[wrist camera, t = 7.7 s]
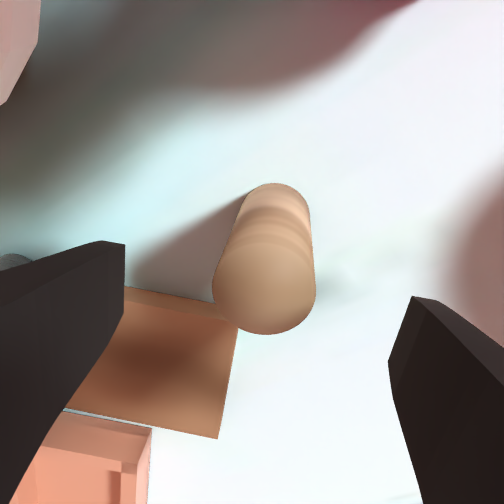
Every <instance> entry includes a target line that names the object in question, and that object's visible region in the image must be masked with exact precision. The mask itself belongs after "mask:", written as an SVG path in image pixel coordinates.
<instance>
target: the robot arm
mask: <svg viewBox="0 0 504 504" xmlns="http://www.w3.org/2000/svg"><path fill="white" fill-rule="evenodd" d="M124 278H125V245H124V244H119V243H113V242H108V241H102V240H101V241H96V242H91V243H88V244H84V245H81V246H78V247H75V248H72V249H69V250H66V251H63V252H60V253H56V254H53V255H50V256H47V257H44V258H41V259H38V260H35V261H32V262H29V263H26V264H22V265H19V266H16V267H12V268H9V269H5V270H2V271H0V504H9V503H10V501H11V499H12V497H13V495H14V493H15V491H16V490H17V488H18V486H19V484H20V482H21V480H22V478H23V476H24V474H25V473H26V471H27V469H28V467H29V465H30V464H31V462H32V460H33V458H34V456H35V455H36V453H37V451H38V449H39V447H40V446H41V444H42V442H43V440H44V438H45V437H46V435H47V433H48V432H49V430H50V429H51V427H52V425H53V424H54V422H55V421H56V419H57V418H58V416H59V415H60V413H61V412H62V410H63V409H64V408H65V406H66V405H67V403H68V402H69V400H70V399H71V398H72V396H73V395H74V393H75V392H76V390H77V389H78V388H79V386H80V385H81V383H82V382H83V380H84V379H85V378H86V376H87V375H88V373H89V372H90V371H91V369H92V368H93V366H94V365H95V363H96V362H97V360H98V359H99V357H100V356H101V355H102V353H103V352H104V350H105V349H106V347H107V346H108V344H109V342H110V340H111V338H112V336H113V334H114V332H115V330H116V328H117V326H118V324H119V322H120V320H121V318H122V316H123V314H124ZM388 368H389V376H390V383H391V389H392V396H393V400H394V404H395V407H396V411H397V414H398V418H399V421H400V425H401V428H402V432H403V435H404V438H405V442H406V445H407V448H408V452H409V455H410V458H411V462H412V465H413V468H414V472H415V475H416V478H417V482H418V485H419V489H420V493H421V497H422V501H423V504H504V348H503V347H502V346H500V345H499V344H498V343H496V342H495V341H494V340H492V339H491V338H489V337H488V336H487V335H486V334H484V333H483V332H482V331H480V330H479V329H478V328H476V327H475V326H474V325H472V324H471V323H470V322H468V321H467V320H465V319H464V318H463V317H461V316H460V315H459V314H457V313H456V312H454V311H453V310H452V309H450V308H449V307H447V306H446V305H444V304H442V303H440V302H439V301H437V300H432V299H426V298H421V297H415V296H412V297H411V299H410V302H409V305H408V308H407V310H406V313H405V316H404V319H403V321H402V324H401V327H400V329H399V332H398V335H397V338H396V340H395V343H394V346H393V349H392V351H391V354H390V357H389V360H388Z"/></svg>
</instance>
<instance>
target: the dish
mask: <svg viewBox="0 0 504 504" xmlns="http://www.w3.org/2000/svg"><path fill="white" fill-rule="evenodd" d="M151 434H152V428H147V427H141V426H136V425H131V424H126V423H121V422H115V421H110V420H105V419H100V418H95V417H89V416H84V415H79V414H74V413H69V412H63V411H62V412H61V413H60V415H59V416H58V418H57V419H56V421H55V422H54V424H53V425H52V427H51V429H50V430H49V432H48V433H47V435H46V437H45V438H44V440H43V442H42V444H41V446H40V447H39V449H38V451H37V453H36V455H35V456H34V458H33V460H32V462H31V464H30V465H29V467H28V469H27V471H26V473H25V474H24V476H23V478H22V480H21V482H20V484H19V486H18V488H17V490H16V491H15V493H14V495H13V497H12V499H11V501H10V503H9V504H147V496H148V480H149V465H150V450H151Z"/></svg>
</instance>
